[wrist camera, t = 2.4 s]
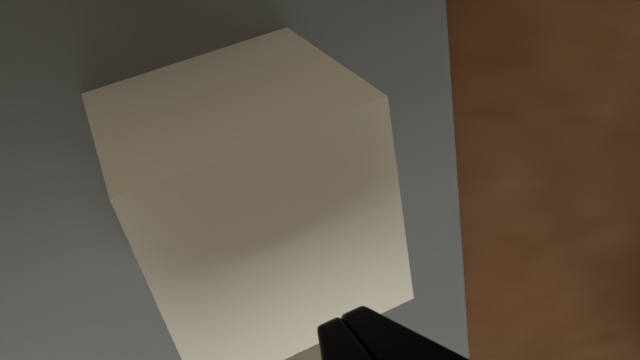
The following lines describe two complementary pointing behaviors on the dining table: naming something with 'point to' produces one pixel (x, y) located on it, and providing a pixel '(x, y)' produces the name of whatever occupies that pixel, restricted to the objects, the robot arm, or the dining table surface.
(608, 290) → the dining table surface
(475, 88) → the dining table surface
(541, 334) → the dining table surface
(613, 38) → the dining table surface
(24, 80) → the mat
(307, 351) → the block one
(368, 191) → the plain block
